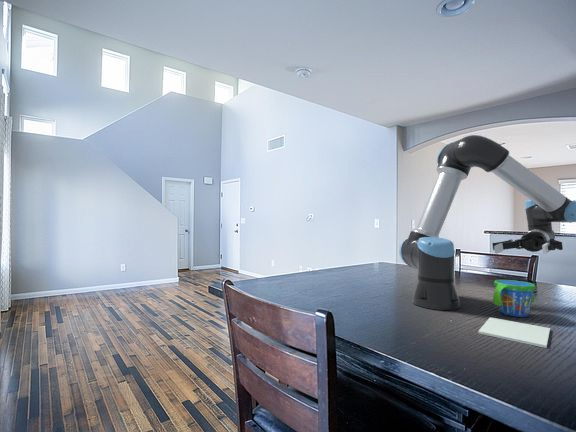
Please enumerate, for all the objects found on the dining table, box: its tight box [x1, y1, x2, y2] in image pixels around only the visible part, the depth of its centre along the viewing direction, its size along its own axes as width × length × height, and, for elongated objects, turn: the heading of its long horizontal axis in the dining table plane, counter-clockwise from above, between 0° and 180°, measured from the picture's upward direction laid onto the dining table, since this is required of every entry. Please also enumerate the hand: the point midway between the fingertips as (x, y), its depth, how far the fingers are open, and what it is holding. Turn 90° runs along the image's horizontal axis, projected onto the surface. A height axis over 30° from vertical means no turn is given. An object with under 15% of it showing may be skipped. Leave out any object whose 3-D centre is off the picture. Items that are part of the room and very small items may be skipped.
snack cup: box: [492, 279, 537, 318], centre depth 101 cm, size 16×10×10 cm
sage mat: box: [477, 317, 551, 349], centre depth 85 cm, size 16×14×1 cm
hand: (518, 249), depth 107 cm, fingers open, 13 cm apart
